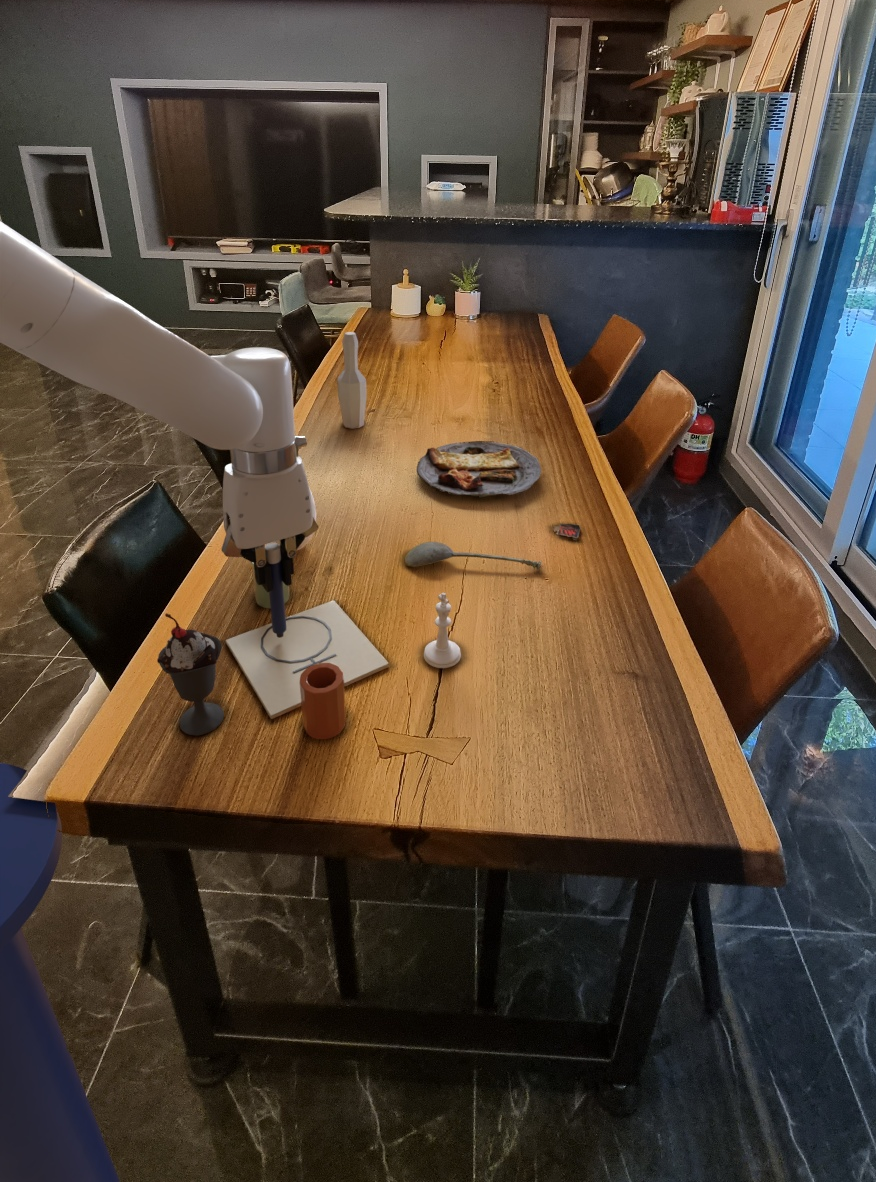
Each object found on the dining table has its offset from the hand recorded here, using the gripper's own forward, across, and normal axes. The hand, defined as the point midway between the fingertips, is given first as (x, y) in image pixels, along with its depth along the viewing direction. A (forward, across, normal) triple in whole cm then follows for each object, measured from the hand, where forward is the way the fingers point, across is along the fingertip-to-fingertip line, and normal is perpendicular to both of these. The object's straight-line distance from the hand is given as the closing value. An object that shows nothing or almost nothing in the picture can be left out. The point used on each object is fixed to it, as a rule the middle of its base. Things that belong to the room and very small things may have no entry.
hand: (275, 582), depth 89 cm
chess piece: (+10, -17, +14) cm, 24 cm away
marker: (+9, 0, 0) cm, 9 cm away
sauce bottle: (+10, -11, -21) cm, 26 cm away
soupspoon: (+10, -33, -1) cm, 34 cm away
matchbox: (+9, -53, 0) cm, 54 cm away
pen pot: (+10, +1, +16) cm, 19 cm away
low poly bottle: (+9, -44, -63) cm, 77 cm away
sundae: (+10, +13, +7) cm, 18 cm away
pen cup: (+10, -3, -10) cm, 14 cm away
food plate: (+9, -53, -26) cm, 60 cm away
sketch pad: (+10, -2, +4) cm, 11 cm away
